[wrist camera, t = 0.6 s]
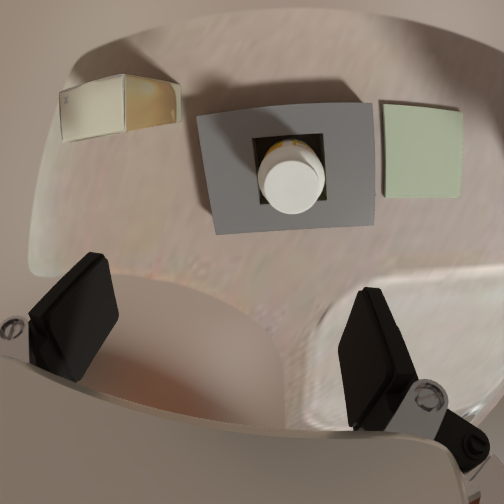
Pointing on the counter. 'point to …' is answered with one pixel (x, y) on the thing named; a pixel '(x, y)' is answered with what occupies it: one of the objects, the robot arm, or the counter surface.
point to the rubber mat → (422, 152)
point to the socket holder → (278, 124)
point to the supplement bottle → (291, 176)
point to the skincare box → (117, 106)
